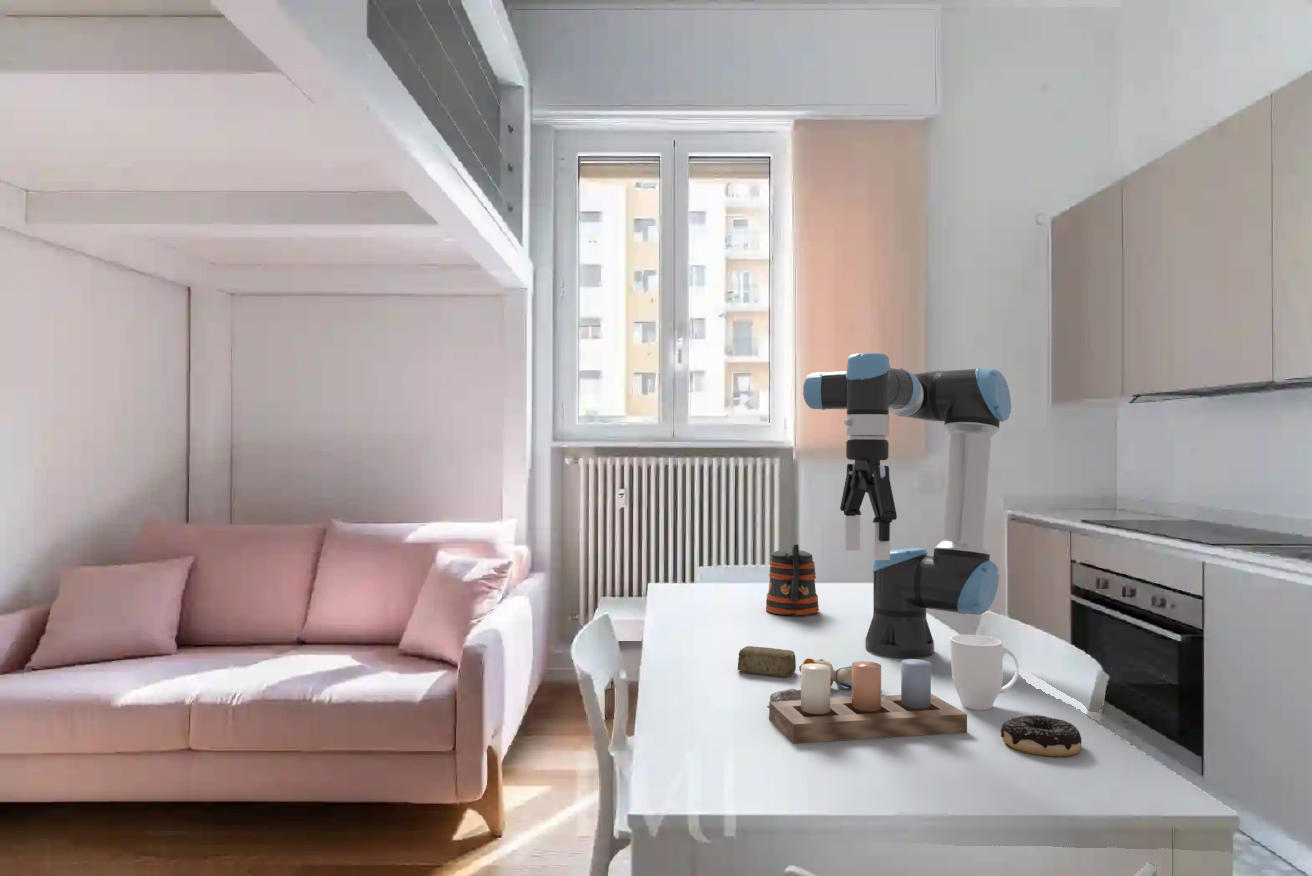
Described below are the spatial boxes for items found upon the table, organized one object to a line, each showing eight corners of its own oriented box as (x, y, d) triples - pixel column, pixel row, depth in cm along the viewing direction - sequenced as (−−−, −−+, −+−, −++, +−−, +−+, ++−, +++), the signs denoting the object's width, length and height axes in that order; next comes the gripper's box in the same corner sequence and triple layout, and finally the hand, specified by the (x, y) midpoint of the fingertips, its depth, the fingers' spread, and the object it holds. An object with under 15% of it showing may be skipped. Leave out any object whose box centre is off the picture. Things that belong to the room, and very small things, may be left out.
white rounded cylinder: (823, 704, 148) (823, 663, 148) (834, 713, 143) (835, 670, 143) (796, 705, 147) (796, 664, 147) (806, 714, 142) (807, 671, 142)
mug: (958, 712, 154) (958, 643, 155) (944, 699, 163) (944, 634, 164) (1026, 713, 154) (1025, 644, 154) (1009, 700, 163) (1008, 635, 163)
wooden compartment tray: (930, 710, 156) (930, 693, 156) (967, 732, 144) (967, 714, 144) (769, 719, 150) (769, 701, 150) (793, 743, 138) (793, 724, 138)
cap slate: (921, 699, 151) (922, 658, 152) (936, 707, 147) (936, 665, 147) (896, 700, 151) (896, 659, 151) (909, 708, 146) (909, 666, 146)
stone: (747, 712, 155) (747, 689, 155) (788, 696, 164) (788, 674, 164) (776, 721, 151) (776, 697, 151) (817, 703, 160) (817, 681, 159)
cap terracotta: (873, 701, 150) (873, 660, 150) (885, 710, 145) (886, 668, 145) (846, 703, 149) (847, 661, 149) (858, 711, 144) (859, 669, 144)
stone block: (790, 679, 176) (790, 654, 176) (735, 674, 180) (735, 649, 180) (797, 672, 181) (797, 648, 181) (743, 667, 185) (743, 643, 185)
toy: (885, 662, 164) (804, 651, 165) (883, 695, 162) (801, 684, 163) (873, 669, 175) (797, 659, 176) (871, 701, 173) (795, 690, 174)
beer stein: (828, 620, 233) (828, 545, 233) (773, 620, 233) (773, 545, 233) (812, 606, 252) (813, 537, 252) (762, 606, 251) (762, 537, 252)
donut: (1091, 762, 131) (1091, 736, 131) (1008, 757, 134) (1008, 731, 134) (1069, 737, 142) (1070, 713, 142) (993, 733, 144) (993, 709, 144)
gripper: (824, 438, 172) (823, 546, 172) (875, 438, 147) (874, 564, 147) (860, 438, 173) (859, 546, 173) (917, 438, 148) (916, 564, 148)
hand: (866, 555), depth 160 cm, fingers open, 13 cm apart
